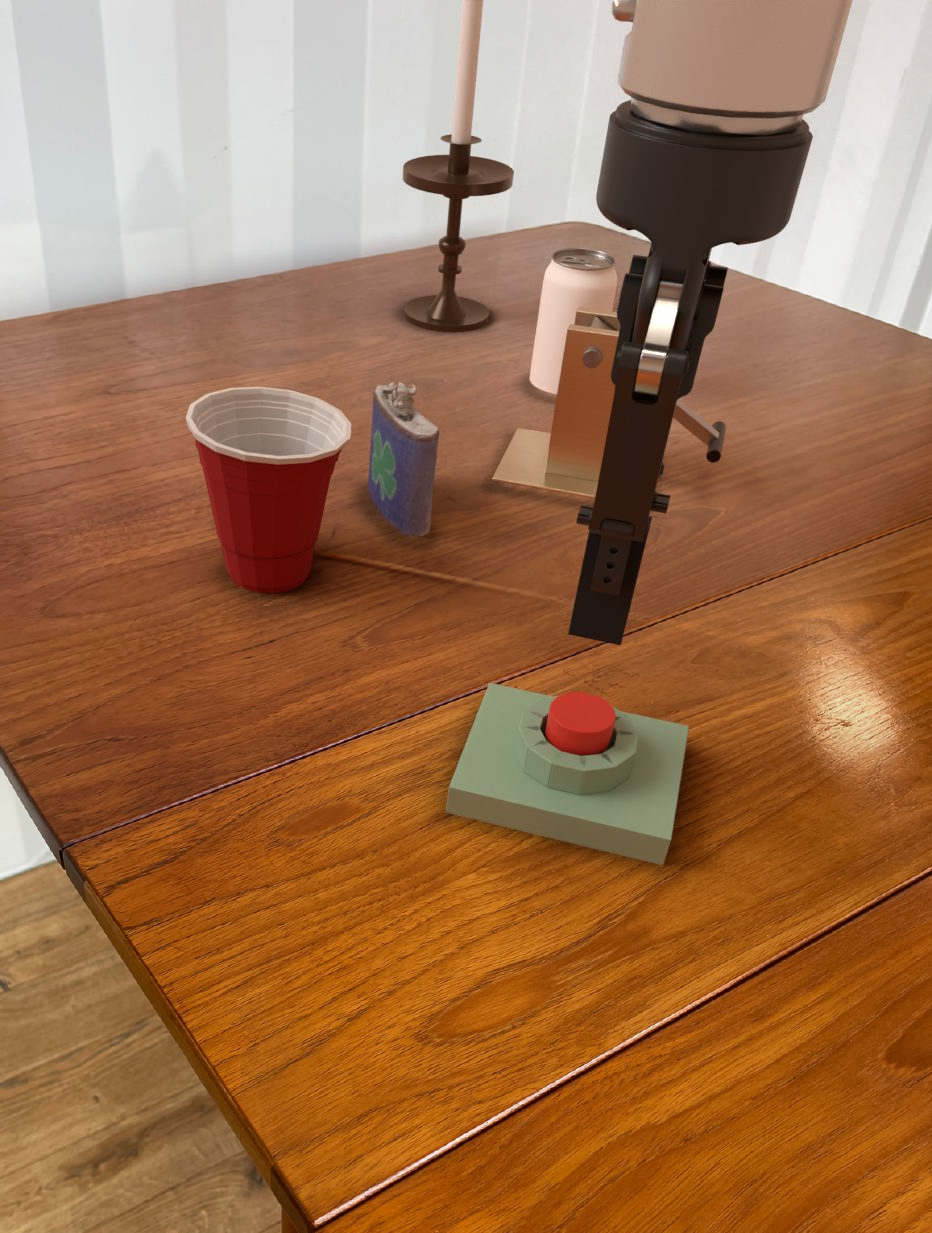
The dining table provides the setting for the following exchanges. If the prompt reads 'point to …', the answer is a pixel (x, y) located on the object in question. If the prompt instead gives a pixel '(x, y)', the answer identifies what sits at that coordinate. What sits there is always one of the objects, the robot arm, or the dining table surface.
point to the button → (580, 723)
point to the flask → (402, 459)
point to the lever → (692, 420)
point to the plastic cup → (267, 478)
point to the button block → (570, 778)
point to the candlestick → (456, 189)
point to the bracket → (571, 416)
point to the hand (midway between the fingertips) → (596, 631)
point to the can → (568, 306)
